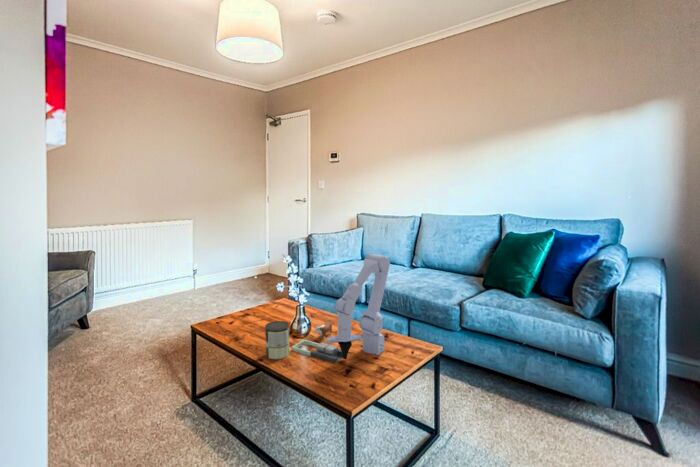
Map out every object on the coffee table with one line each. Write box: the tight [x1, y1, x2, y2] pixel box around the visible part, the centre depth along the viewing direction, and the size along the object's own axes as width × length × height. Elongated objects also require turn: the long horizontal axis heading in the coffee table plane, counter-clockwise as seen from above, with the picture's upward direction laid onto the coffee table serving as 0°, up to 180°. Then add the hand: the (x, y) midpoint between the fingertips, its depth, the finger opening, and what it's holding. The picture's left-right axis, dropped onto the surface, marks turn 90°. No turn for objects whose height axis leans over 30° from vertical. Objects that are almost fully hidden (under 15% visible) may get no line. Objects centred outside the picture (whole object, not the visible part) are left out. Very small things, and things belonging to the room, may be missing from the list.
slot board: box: [310, 348, 343, 364], centre depth 161 cm, size 13×9×3 cm
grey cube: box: [325, 344, 339, 357], centre depth 160 cm, size 4×4×4 cm
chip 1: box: [316, 342, 330, 354], centre depth 163 cm, size 4×4×4 cm
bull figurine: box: [313, 320, 333, 341], centre depth 181 cm, size 4×13×8 cm, turn 152°
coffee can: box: [264, 320, 290, 360], centre depth 162 cm, size 10×10×14 cm
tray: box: [291, 339, 320, 357], centre depth 168 cm, size 11×9×2 cm
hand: (344, 357), depth 157 cm, fingers closed
